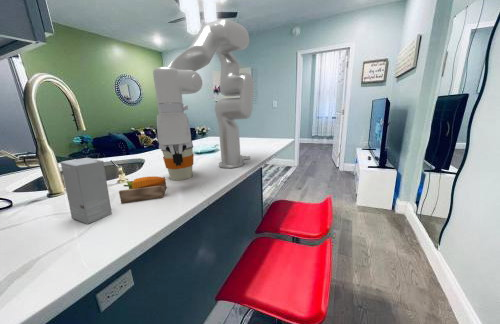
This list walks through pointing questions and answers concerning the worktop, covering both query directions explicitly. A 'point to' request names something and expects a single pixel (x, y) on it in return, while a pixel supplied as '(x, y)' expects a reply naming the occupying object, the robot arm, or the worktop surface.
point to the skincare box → (86, 189)
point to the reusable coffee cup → (186, 165)
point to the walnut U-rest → (142, 193)
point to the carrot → (145, 182)
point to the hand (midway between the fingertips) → (178, 164)
